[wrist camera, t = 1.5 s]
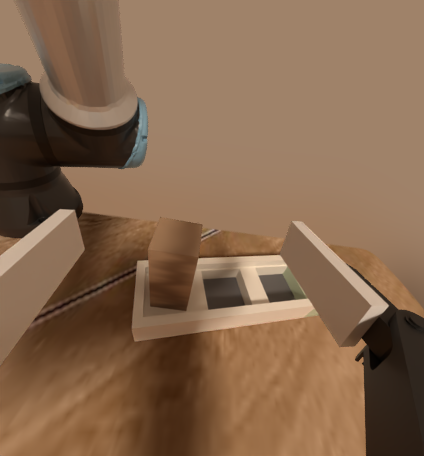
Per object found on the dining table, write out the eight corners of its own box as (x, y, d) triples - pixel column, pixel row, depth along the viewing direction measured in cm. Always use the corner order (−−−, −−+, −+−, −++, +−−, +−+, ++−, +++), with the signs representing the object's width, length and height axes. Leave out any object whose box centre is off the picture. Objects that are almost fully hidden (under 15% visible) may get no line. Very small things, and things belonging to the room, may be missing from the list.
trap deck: (134, 341, 26) (131, 328, 23) (139, 277, 33) (137, 260, 30) (344, 311, 36) (361, 299, 33) (314, 266, 43) (325, 253, 40)
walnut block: (150, 306, 27) (147, 249, 19) (158, 275, 31) (160, 217, 23) (186, 311, 28) (198, 257, 20) (190, 280, 31) (202, 224, 23)
